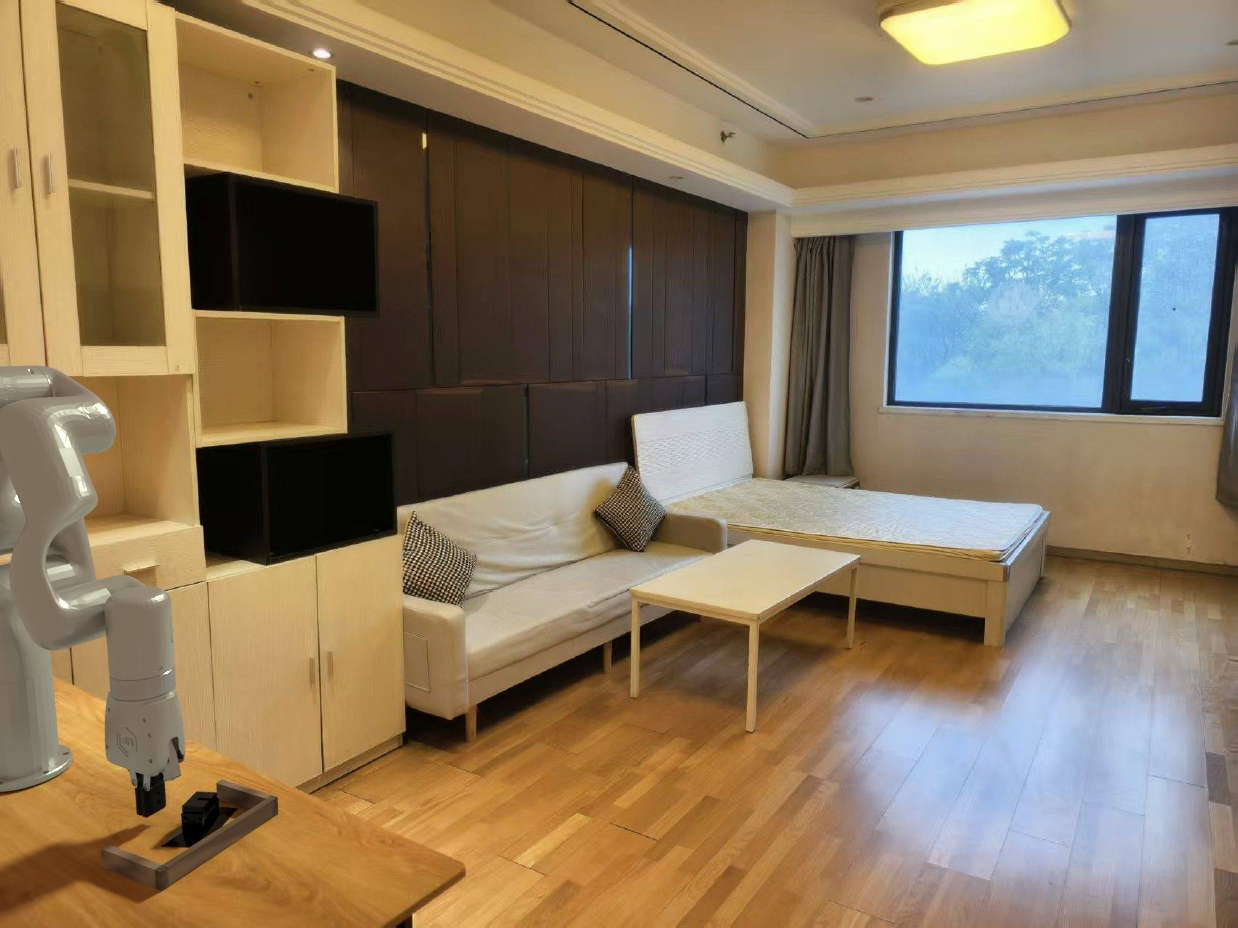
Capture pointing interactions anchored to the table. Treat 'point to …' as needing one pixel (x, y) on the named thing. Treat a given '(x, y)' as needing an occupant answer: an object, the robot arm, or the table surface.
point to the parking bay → (204, 850)
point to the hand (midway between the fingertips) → (151, 811)
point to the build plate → (199, 819)
